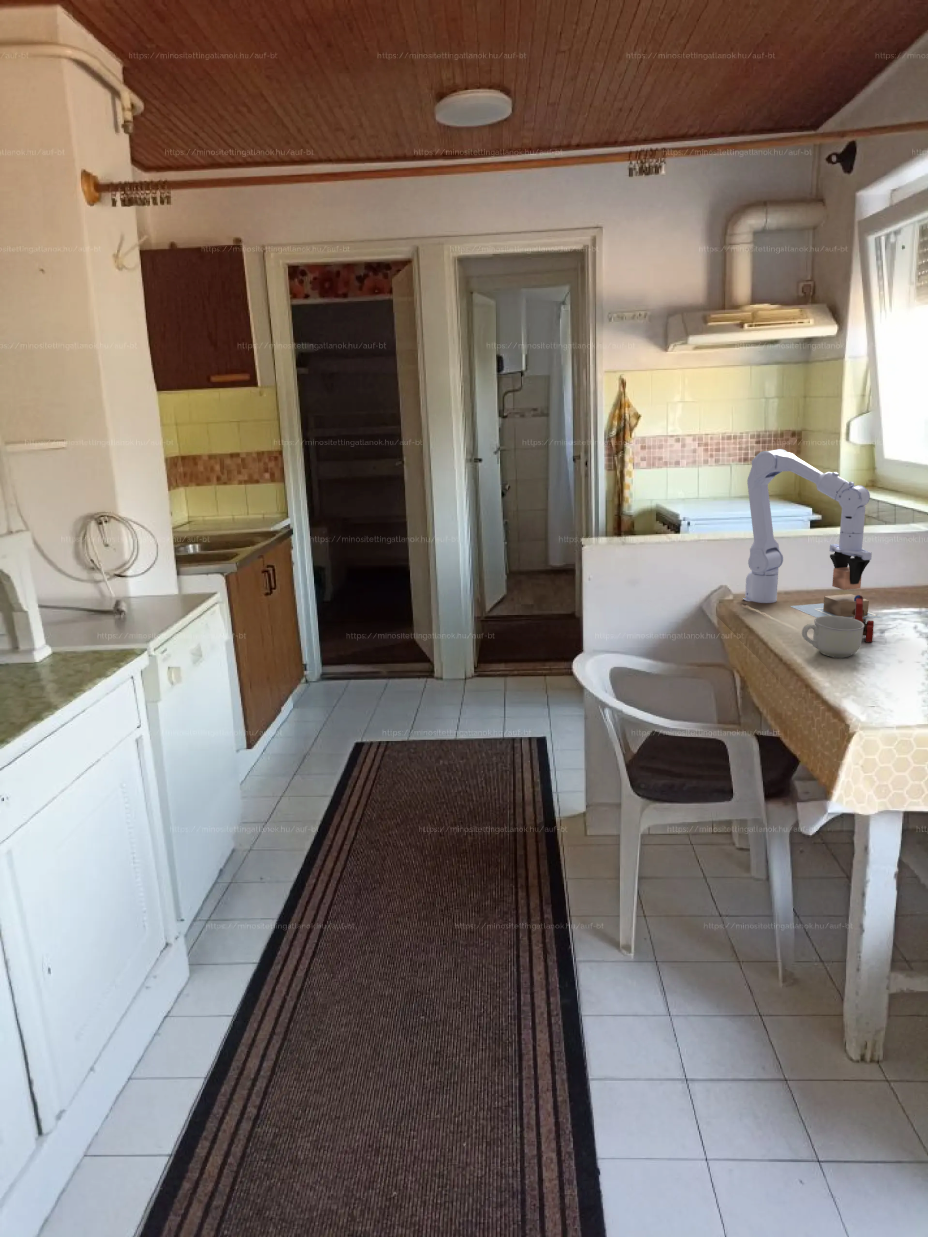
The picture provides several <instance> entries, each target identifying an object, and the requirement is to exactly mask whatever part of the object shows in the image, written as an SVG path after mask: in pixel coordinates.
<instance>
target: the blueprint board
mask: <svg viewBox="0 0 928 1237" xmlns="http://www.w3.org/2000/svg"><path fill="white" fill-rule="evenodd" d="M789 607H791V608H793V609H795V610H798V611H800V612H802V613H804V614H807V615H809V616H812V617H813V618H815V619H816V618H817V617H821V616H836V615H834V614H831V613H829V612H826V611H824V610H823V608H824V602H821V603H810V604H799V605H789ZM849 618H853V616H849ZM863 618H864V619H866V620H867V619H875V618H881V615H877V614H875V613H872V612H869V611H868V615H865V616H864V617H863Z"/></svg>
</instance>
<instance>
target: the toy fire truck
mask: <svg viewBox="0 0 928 1237" xmlns="http://www.w3.org/2000/svg"><path fill="white" fill-rule="evenodd" d="M863 599H864V597H863V596H862V595H859V594H857V595H855V598H854V601H856V604H855V609H854V610H853V611H852V616H853V619H856V620H859V621H861V622H862V623H863V624H864V628H863V635H862V637H863V636H864V637H865V638H864V639H865V643H873V639H874V626H875V625H874V624H875V622H874V620H867V618H866V619H864V618H863V617H864V616H865V611H864V610H863Z"/></svg>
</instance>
